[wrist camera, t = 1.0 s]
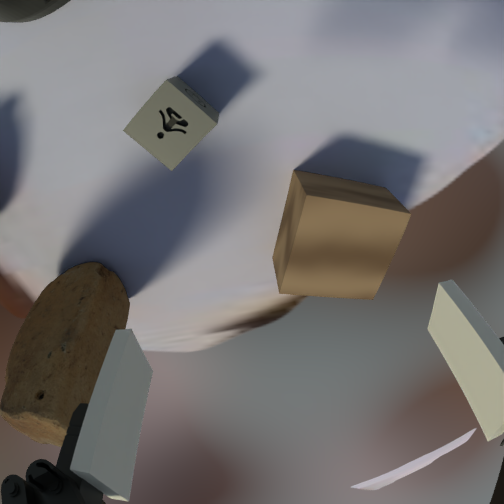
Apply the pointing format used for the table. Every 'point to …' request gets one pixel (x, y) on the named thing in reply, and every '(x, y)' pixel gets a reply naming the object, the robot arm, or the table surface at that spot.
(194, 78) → the table surface
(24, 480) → the robot arm
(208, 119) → the dice cube
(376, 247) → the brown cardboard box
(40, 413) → the brown oblong lump
